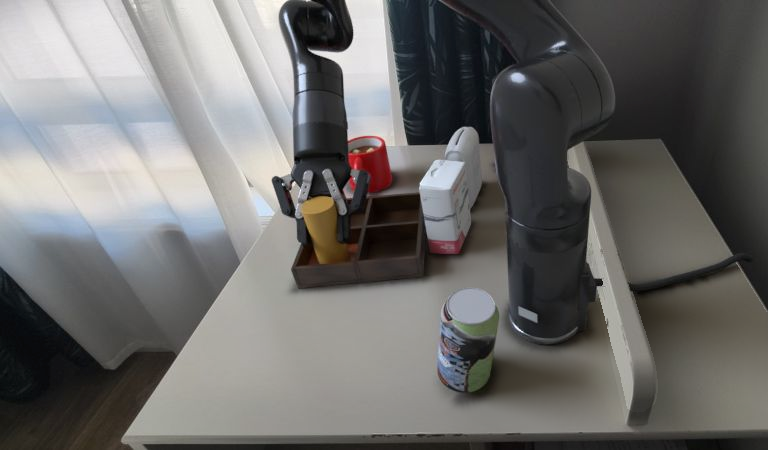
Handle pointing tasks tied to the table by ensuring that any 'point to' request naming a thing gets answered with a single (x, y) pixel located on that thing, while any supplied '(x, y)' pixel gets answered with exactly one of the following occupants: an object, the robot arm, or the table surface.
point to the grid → (372, 245)
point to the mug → (370, 161)
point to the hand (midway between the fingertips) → (324, 244)
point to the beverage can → (467, 339)
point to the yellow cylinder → (324, 230)
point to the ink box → (446, 206)
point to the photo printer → (467, 158)
